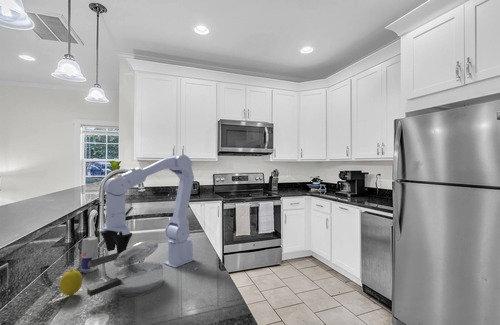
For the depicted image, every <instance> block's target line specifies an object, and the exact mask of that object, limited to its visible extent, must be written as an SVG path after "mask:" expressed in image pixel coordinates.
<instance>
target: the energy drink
mask: <svg viewBox="0 0 500 325" xmlns="http://www.w3.org/2000/svg"><path fill="white" fill-rule="evenodd" d="M97 258H99V238H98V237H97V236H88V237H85V238H82V241H81V268H80V269H81V272H82V273H83V274H85V273H86V274H87V273H91V272H96V270H97V269H98V268H99V265H97V266H94V267H90V268H88V263H89V261H90V260H94V259H97Z"/></svg>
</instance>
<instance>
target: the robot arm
mask: <svg viewBox="0 0 500 325" xmlns="http://www.w3.org/2000/svg"><path fill="white" fill-rule="evenodd" d="M192 166H193V161H192V160H191V159H190V157H189V156H188V155H186V154H181V155H171V156H169V157H165V158H162V159H160V160H158V161H156V162H153V163H151V164H150V165H148V166H145V167H144V168H141V167H132V168H130V170H129V171H127V172H124V173H122V174H121V173H118V174H117V176H116V177H112V178H108V179H107V180H106V181H105V183H104V186H102V187H103V191H104V192H105V193H106V195H105V196H106V197H105V198H106V199H105V210H106V211H105V214H106V215H105V221H106V222H105V223H103V227H102V231H100V234H101V236H102V238H103V240H104V243H105V247H106V250H107V252H111V251H115V250H116V253H118V254H120V253H121V252H123V251H124V250H126V249H127V248H128V245H129V243H130V239H131V238H132V236H133V233H132V232H131V231H130V227H128V224H126V193H127V191H128V190H130V189H132V188H134V187H136V186H138V185H140V184H143V183H144V182H146V179H147V177H149V176H152V175H154V174H157V173H159V172H161V171H163V170H167V169H168V170H170V171H171V172H172V173H174V174H176V176H177V177H178V179H179V182H178V186H177V187H178V188H177V193H176V196H175V197H176V198H175V202H174V203H175V204H174V207H173V214H172V216H171V217H170V219H169V220H168V224H167V225H166V227H165V229H164V234H165V236H166V237H167V258H168V259H167V260H165V261H163V264H164V265H166V266H170V267H172V268H175V269H176V268H179V267H180V266H183V265H185V264H188V263H191V262H193V261H194V260H195V259H194V257H193V255H194V254H193V250H194V248H193V242H192V240H191V239H190V222H189V220H188V218H187V215H188V210H189V205H190V199H191V193H192V186H193V182H194V172H193V168H192Z"/></svg>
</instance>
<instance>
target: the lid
mask: <svg viewBox="0 0 500 325" xmlns="http://www.w3.org/2000/svg"><path fill="white" fill-rule="evenodd" d="M158 247H159V244H158V241H156V240H155V239H148V240H144V241H141V242H138V243H136V244H133V245H131V246H129V247H127V249H126V250H124V251H123V252H121V253H120V254H118V253H117V252H116V253H112V254H108V255H105V256H102V257H98V258H97V259H94V260H90V261H89V263H88V268H90V267H94V266H97V265H98V266H100V265H103V264H106V263H110V262H113V264H114V267H116V268H124V267H126V266H129V265H132V264H136V263H140V262H141V261H143V260H144V259H146V258H147V257H149V256H151V255H152V254H154V252H156V251H157V249H158Z"/></svg>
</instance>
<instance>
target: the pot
mask: <svg viewBox="0 0 500 325" xmlns="http://www.w3.org/2000/svg"><path fill="white" fill-rule="evenodd" d="M163 270H164V269H163V264H161V263H160V262H156V261H143V262H137V263H134V264H132V265H129V266H125V267H121V268H120V269H119V270H117V272H116V273H115V276H116V277H114V278H112V279H109V280H106V281H104V282H101V283H98V284H95V285H93V286H90V287H87V289H86V290H87V292H86V293H87V295H88V296H89V297H92V296H96V295H98V294H100V293H103V292H106V291H108V290H111V289H114V288H115V292H116V293H117V295H119V296H121V297H132V298H133V297H140V296H143V295H148V294H150V293H153V292H154V291H156V290H158V289H159V288H160V287H161V286H162V285H163V283H164V280H163V279H164V277H163V276H164V273H163V272H164V271H163Z"/></svg>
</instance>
